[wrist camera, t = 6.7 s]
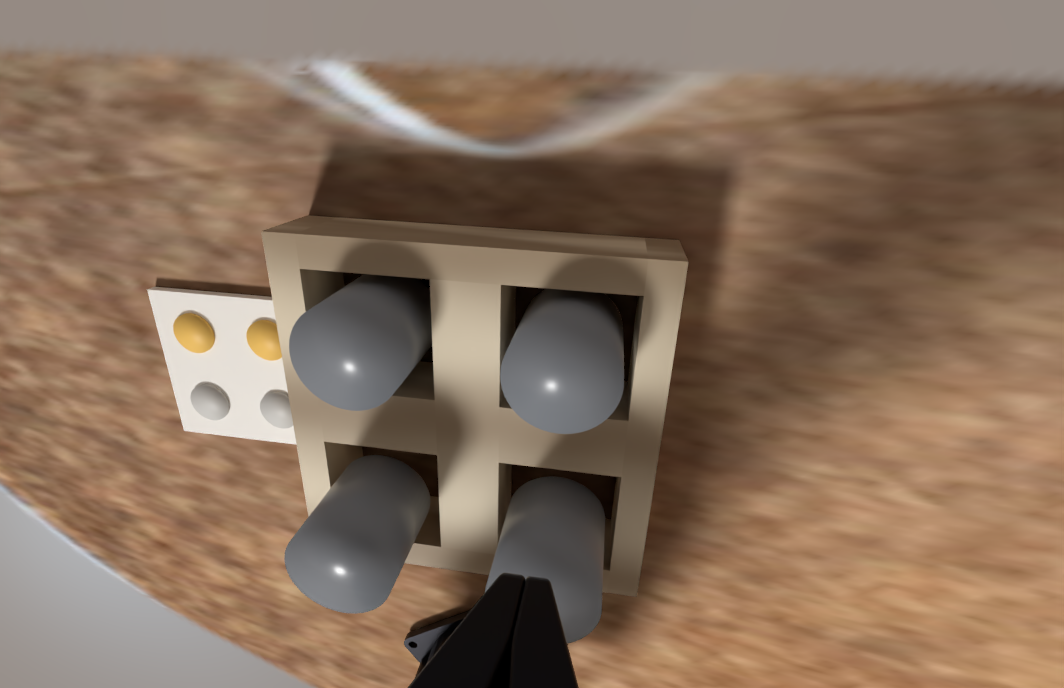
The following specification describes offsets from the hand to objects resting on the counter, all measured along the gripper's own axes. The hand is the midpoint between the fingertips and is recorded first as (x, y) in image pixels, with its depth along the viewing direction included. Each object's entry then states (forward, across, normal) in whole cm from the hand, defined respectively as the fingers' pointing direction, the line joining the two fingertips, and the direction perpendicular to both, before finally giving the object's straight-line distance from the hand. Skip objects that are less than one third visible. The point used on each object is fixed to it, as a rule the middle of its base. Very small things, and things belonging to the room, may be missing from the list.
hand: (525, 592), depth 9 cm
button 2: (+12, +7, 0) cm, 14 cm away
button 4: (+10, +7, +7) cm, 14 cm away
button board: (+13, +4, +4) cm, 14 cm away
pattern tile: (+13, +15, +4) cm, 20 cm away
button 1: (+12, 0, 0) cm, 12 cm away
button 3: (+10, 0, +7) cm, 12 cm away
